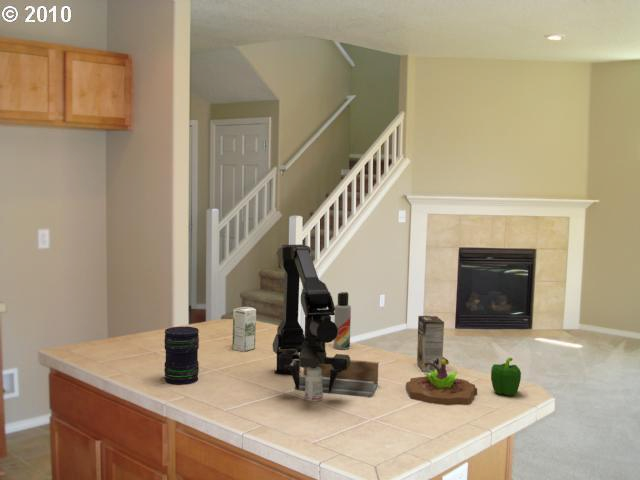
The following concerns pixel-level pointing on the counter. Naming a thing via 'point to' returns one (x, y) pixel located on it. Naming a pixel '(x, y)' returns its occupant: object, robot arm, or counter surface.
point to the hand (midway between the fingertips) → (313, 390)
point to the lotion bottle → (342, 322)
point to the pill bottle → (314, 384)
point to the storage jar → (181, 355)
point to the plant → (441, 387)
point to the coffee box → (430, 342)
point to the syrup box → (244, 329)
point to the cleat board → (349, 379)
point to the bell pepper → (505, 378)
